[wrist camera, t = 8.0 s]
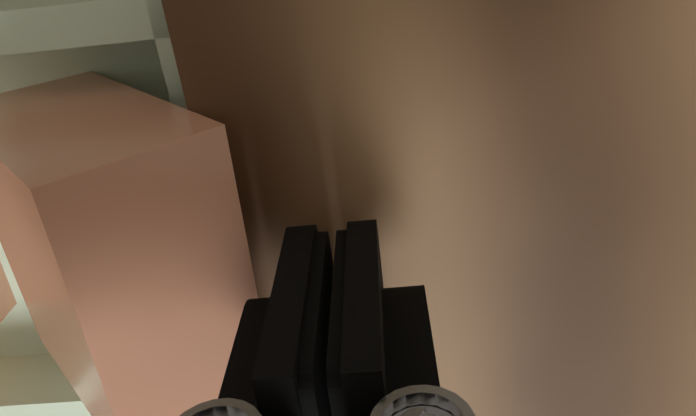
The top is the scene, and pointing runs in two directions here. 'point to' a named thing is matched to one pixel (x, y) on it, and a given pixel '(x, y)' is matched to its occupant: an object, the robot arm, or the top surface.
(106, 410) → the tile
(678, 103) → the brown flat block
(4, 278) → the tile
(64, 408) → the tray
